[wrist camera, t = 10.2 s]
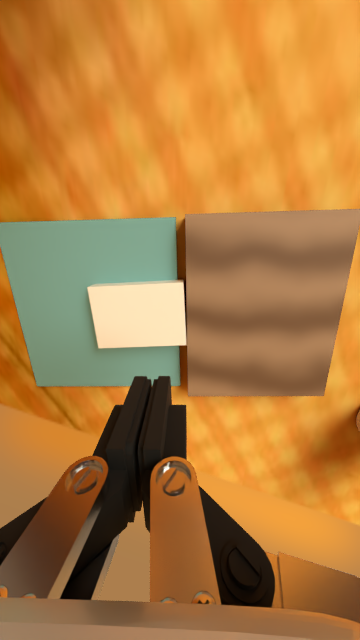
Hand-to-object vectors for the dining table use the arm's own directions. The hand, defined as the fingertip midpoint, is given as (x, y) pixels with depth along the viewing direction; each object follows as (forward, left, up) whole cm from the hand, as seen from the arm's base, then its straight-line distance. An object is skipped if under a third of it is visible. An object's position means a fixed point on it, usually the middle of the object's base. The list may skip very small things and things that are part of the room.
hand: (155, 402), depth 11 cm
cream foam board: (0, -4, -16) cm, 17 cm away
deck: (0, +9, -17) cm, 19 cm away
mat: (0, -9, -17) cm, 19 cm away
